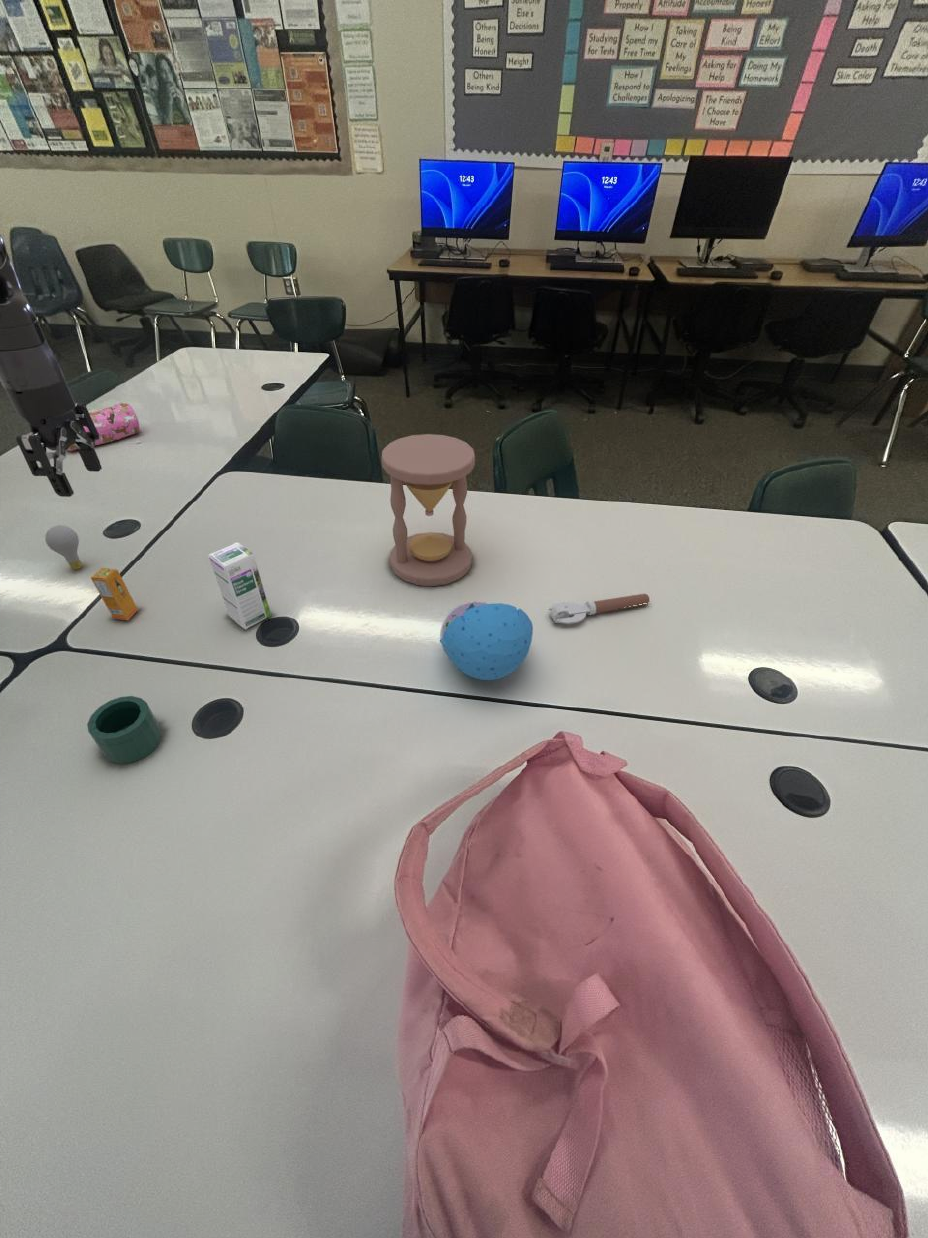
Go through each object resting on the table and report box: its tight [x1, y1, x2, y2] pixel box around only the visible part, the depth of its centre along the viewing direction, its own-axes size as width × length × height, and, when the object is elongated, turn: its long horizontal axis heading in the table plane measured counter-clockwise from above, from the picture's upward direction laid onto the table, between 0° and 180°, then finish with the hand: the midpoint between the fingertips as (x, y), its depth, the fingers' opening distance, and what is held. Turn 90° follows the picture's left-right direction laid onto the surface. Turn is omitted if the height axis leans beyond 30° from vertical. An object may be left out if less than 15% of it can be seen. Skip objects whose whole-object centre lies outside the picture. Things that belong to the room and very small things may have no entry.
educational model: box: [439, 601, 534, 681], centre depth 94 cm, size 16×19×15 cm
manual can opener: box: [548, 593, 650, 625], centre depth 109 cm, size 20×6×3 cm, turn 111°
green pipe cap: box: [87, 695, 162, 765], centre depth 83 cm, size 8×8×6 cm
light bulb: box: [45, 524, 83, 570], centre depth 114 cm, size 5×6×10 cm
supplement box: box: [90, 567, 139, 622], centre depth 103 cm, size 3×3×10 cm
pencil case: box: [66, 402, 141, 452], centre depth 162 cm, size 21×9×9 cm, turn 137°
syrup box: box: [207, 541, 272, 630], centre depth 102 cm, size 6×6×14 cm
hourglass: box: [381, 433, 476, 587], centre depth 113 cm, size 18×18×25 cm
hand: (81, 482), depth 90 cm, fingers open, 8 cm apart
